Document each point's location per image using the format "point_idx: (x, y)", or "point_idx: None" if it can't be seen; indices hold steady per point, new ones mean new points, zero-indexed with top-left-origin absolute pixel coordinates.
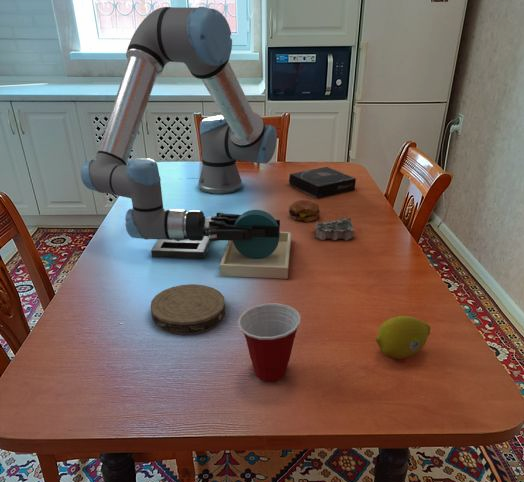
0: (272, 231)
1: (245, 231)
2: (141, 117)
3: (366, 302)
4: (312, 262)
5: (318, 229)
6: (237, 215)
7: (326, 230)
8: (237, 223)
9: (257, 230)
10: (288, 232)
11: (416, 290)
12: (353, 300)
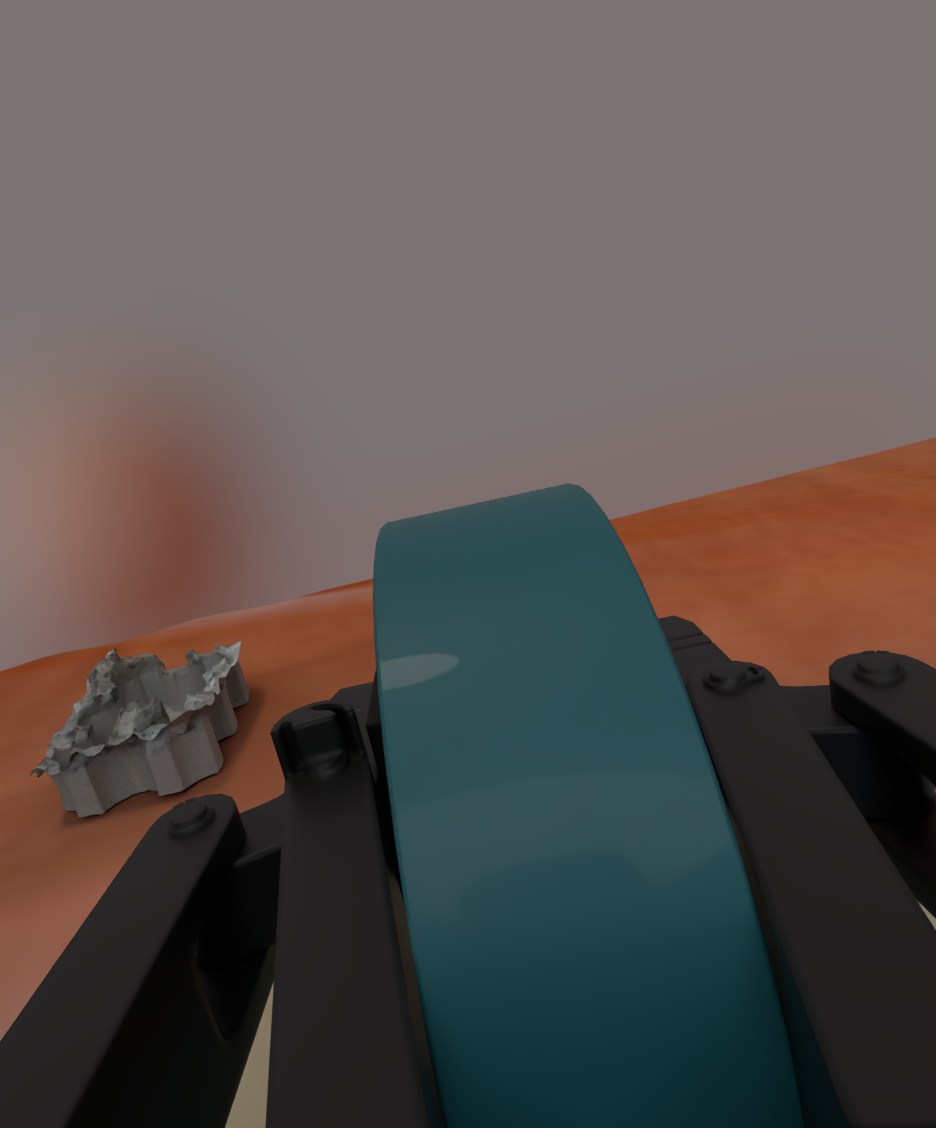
0: None
1: (930, 667)
2: None
3: (850, 553)
4: None
5: (166, 735)
6: (50, 1058)
7: (209, 698)
8: (721, 805)
9: (709, 651)
10: None
11: (666, 529)
12: (869, 570)
